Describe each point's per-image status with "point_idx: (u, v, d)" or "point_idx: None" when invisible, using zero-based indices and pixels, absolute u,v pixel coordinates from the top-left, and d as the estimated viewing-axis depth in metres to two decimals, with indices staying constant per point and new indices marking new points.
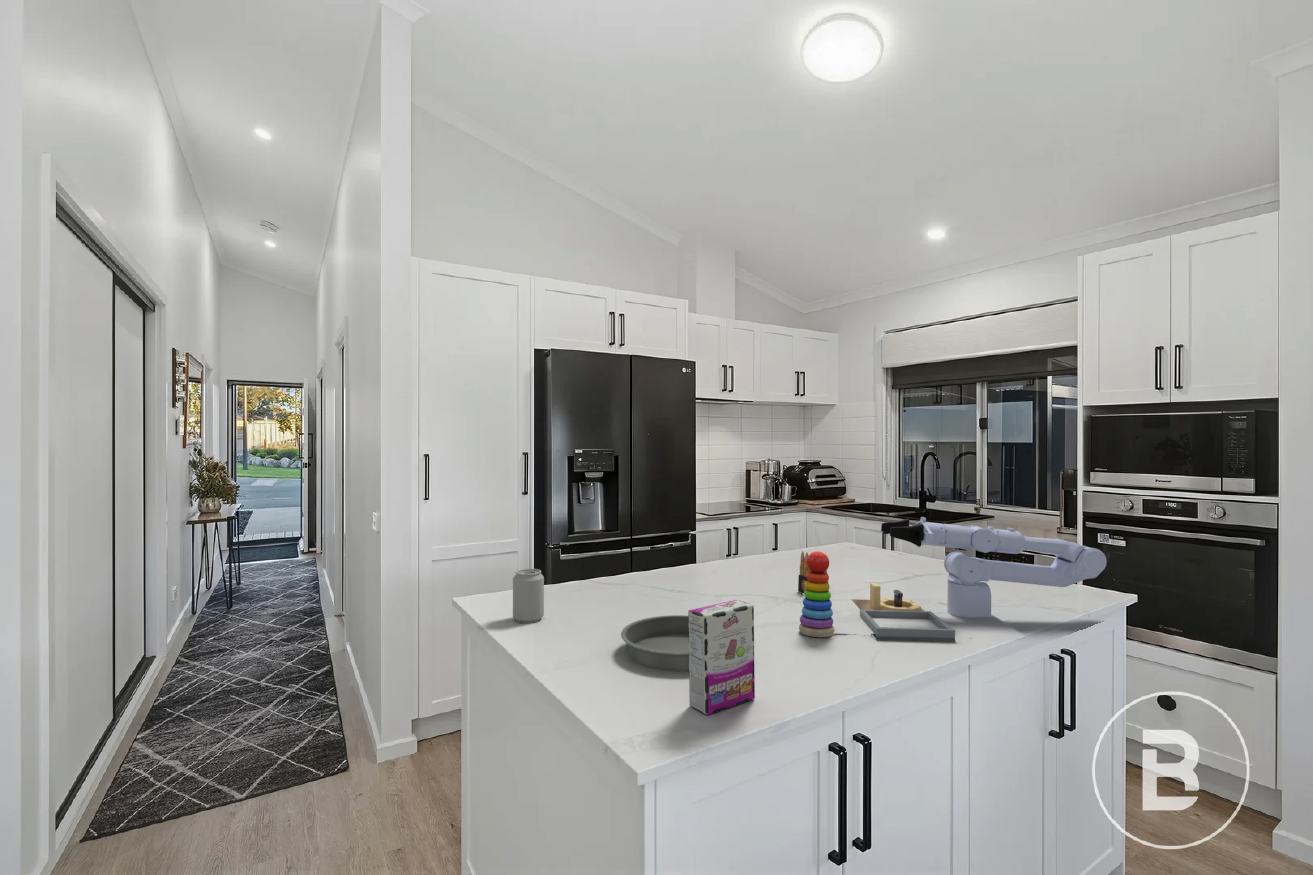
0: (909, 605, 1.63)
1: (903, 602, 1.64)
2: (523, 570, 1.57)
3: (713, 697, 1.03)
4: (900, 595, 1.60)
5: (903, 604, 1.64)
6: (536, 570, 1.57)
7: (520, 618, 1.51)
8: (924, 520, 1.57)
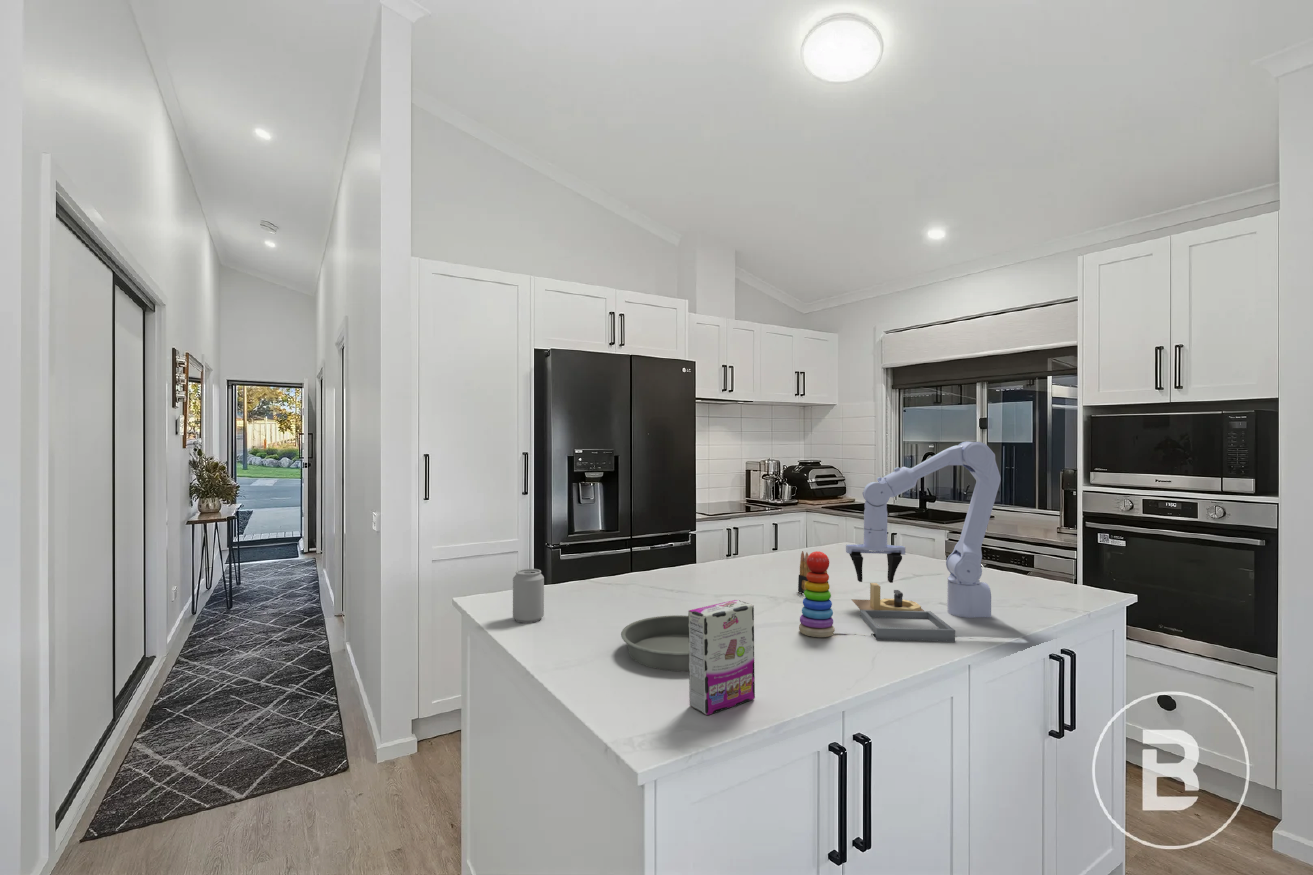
0: (909, 605, 1.63)
1: (903, 602, 1.64)
2: (523, 570, 1.57)
3: (713, 697, 1.03)
4: (900, 595, 1.60)
5: (903, 604, 1.64)
6: (536, 570, 1.57)
7: (520, 618, 1.51)
8: None
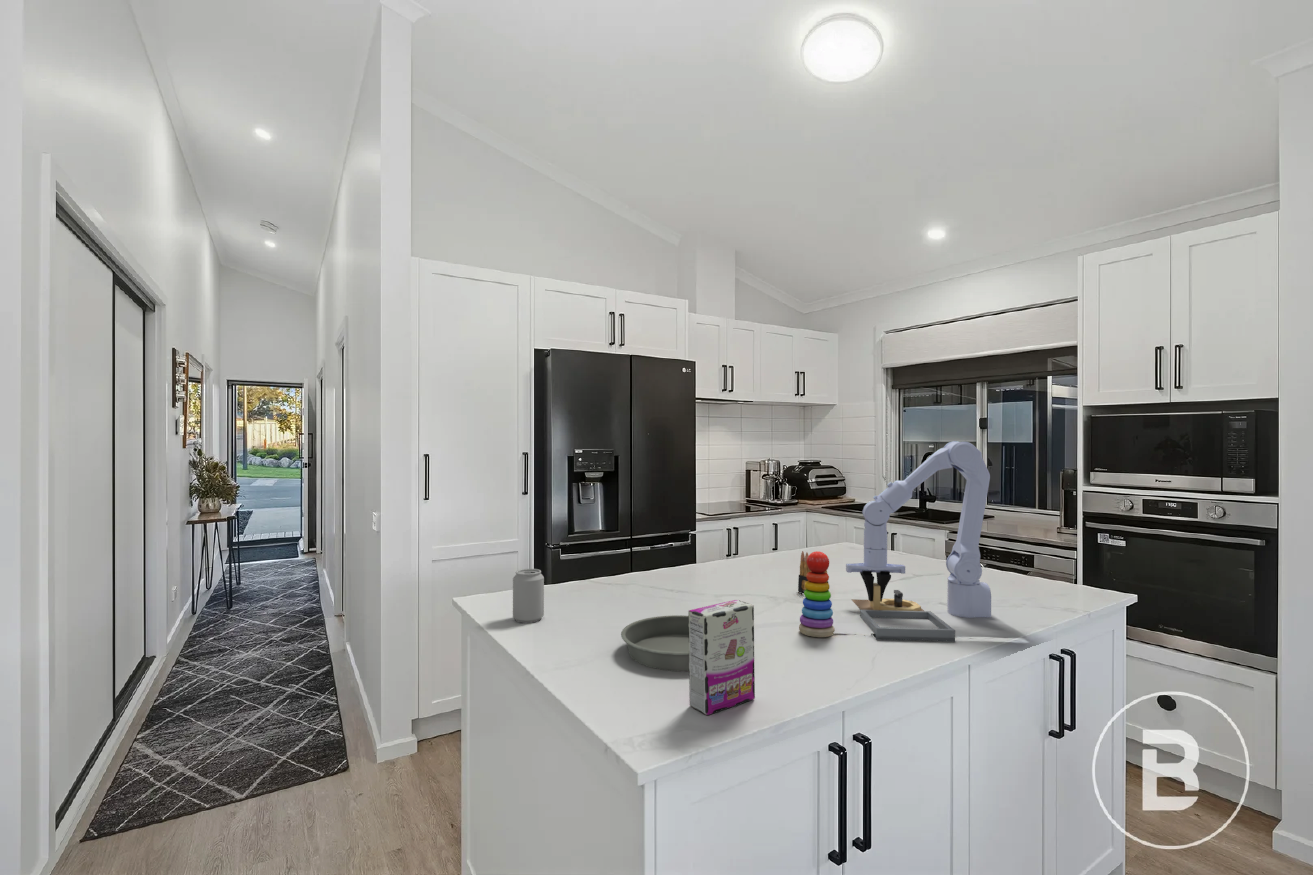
0: (909, 605, 1.63)
1: (903, 602, 1.64)
2: (523, 570, 1.57)
3: (713, 697, 1.03)
4: (900, 595, 1.60)
5: (903, 604, 1.64)
6: (536, 570, 1.57)
7: (520, 618, 1.51)
8: None
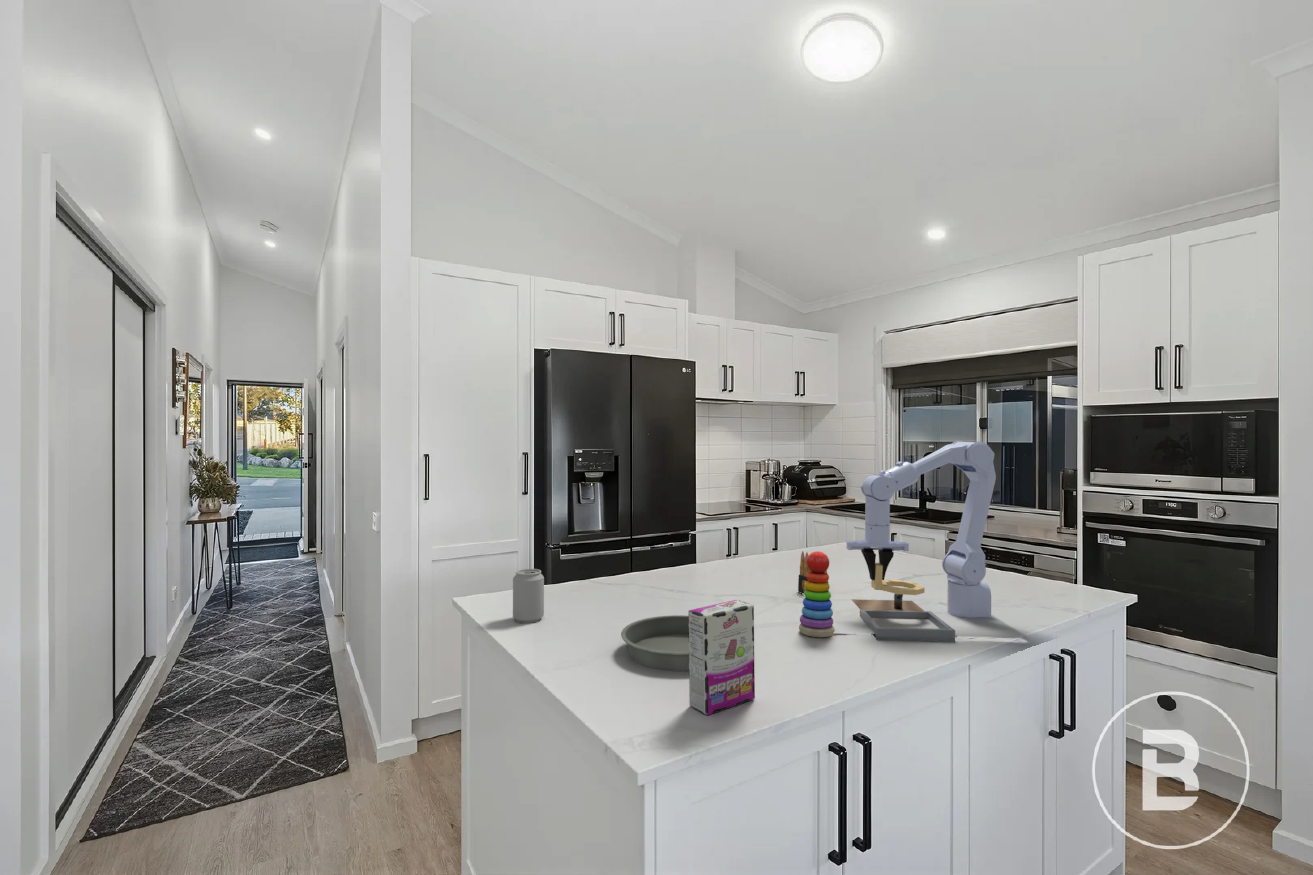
0: (912, 587, 1.56)
1: (906, 584, 1.58)
2: (523, 570, 1.57)
3: (713, 697, 1.03)
4: (900, 595, 1.60)
5: (906, 586, 1.58)
6: (536, 570, 1.57)
7: (520, 618, 1.51)
8: None
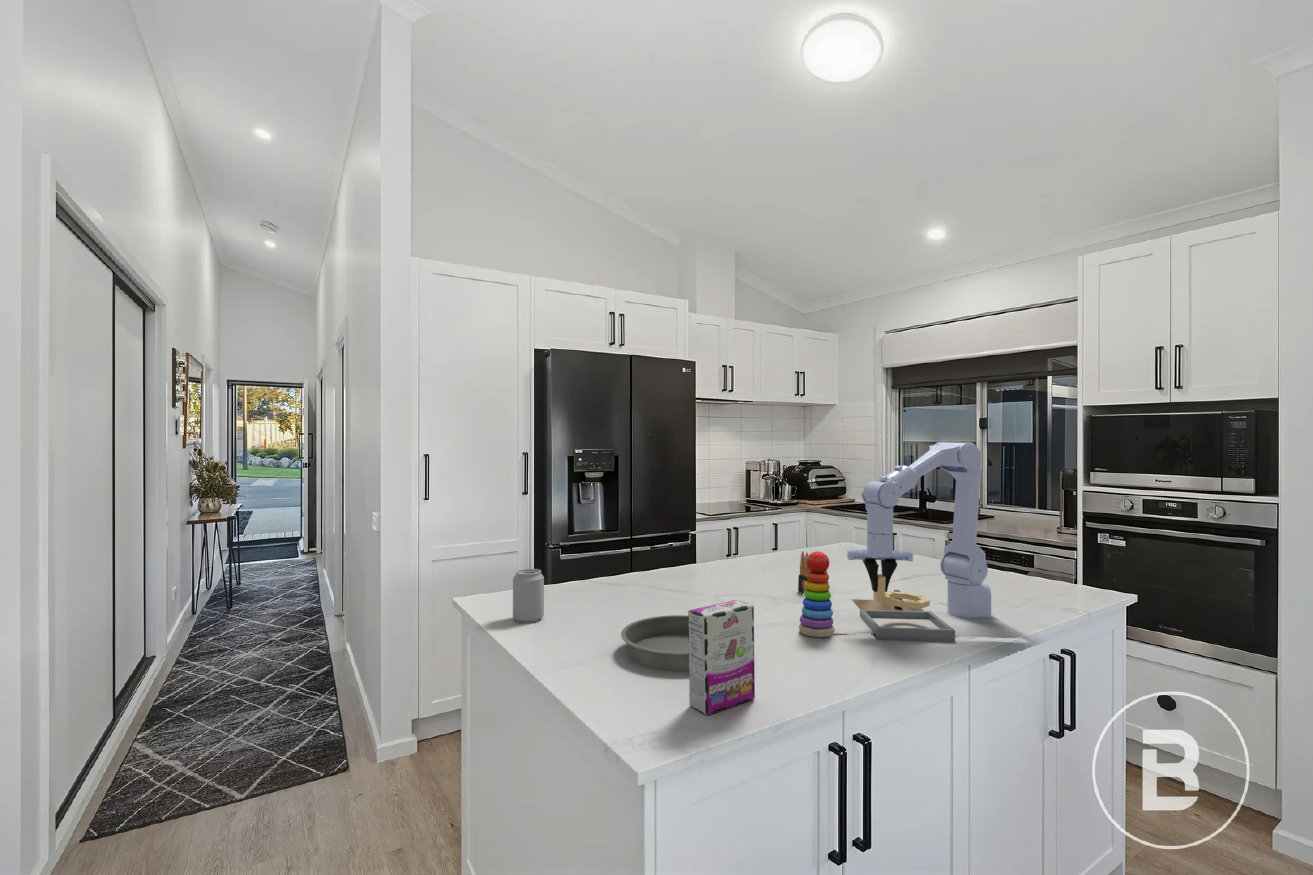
0: (916, 599, 1.48)
1: (910, 596, 1.50)
2: (523, 570, 1.57)
3: (713, 697, 1.03)
4: None
5: (910, 598, 1.50)
6: (536, 570, 1.57)
7: (520, 618, 1.51)
8: None
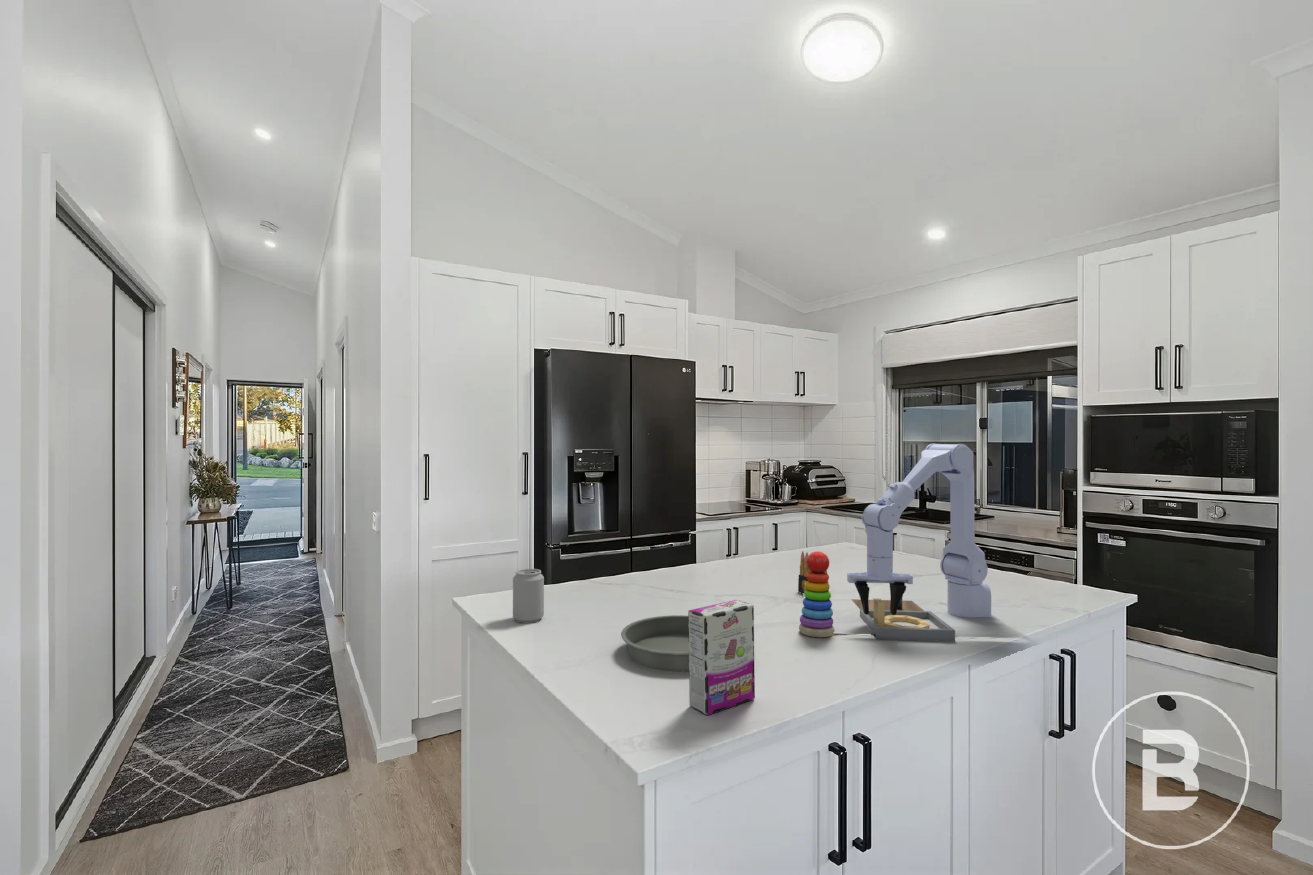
0: (916, 623, 1.48)
1: (910, 619, 1.50)
2: (523, 570, 1.57)
3: (713, 697, 1.03)
4: None
5: (910, 621, 1.50)
6: (536, 570, 1.57)
7: (520, 618, 1.51)
8: None
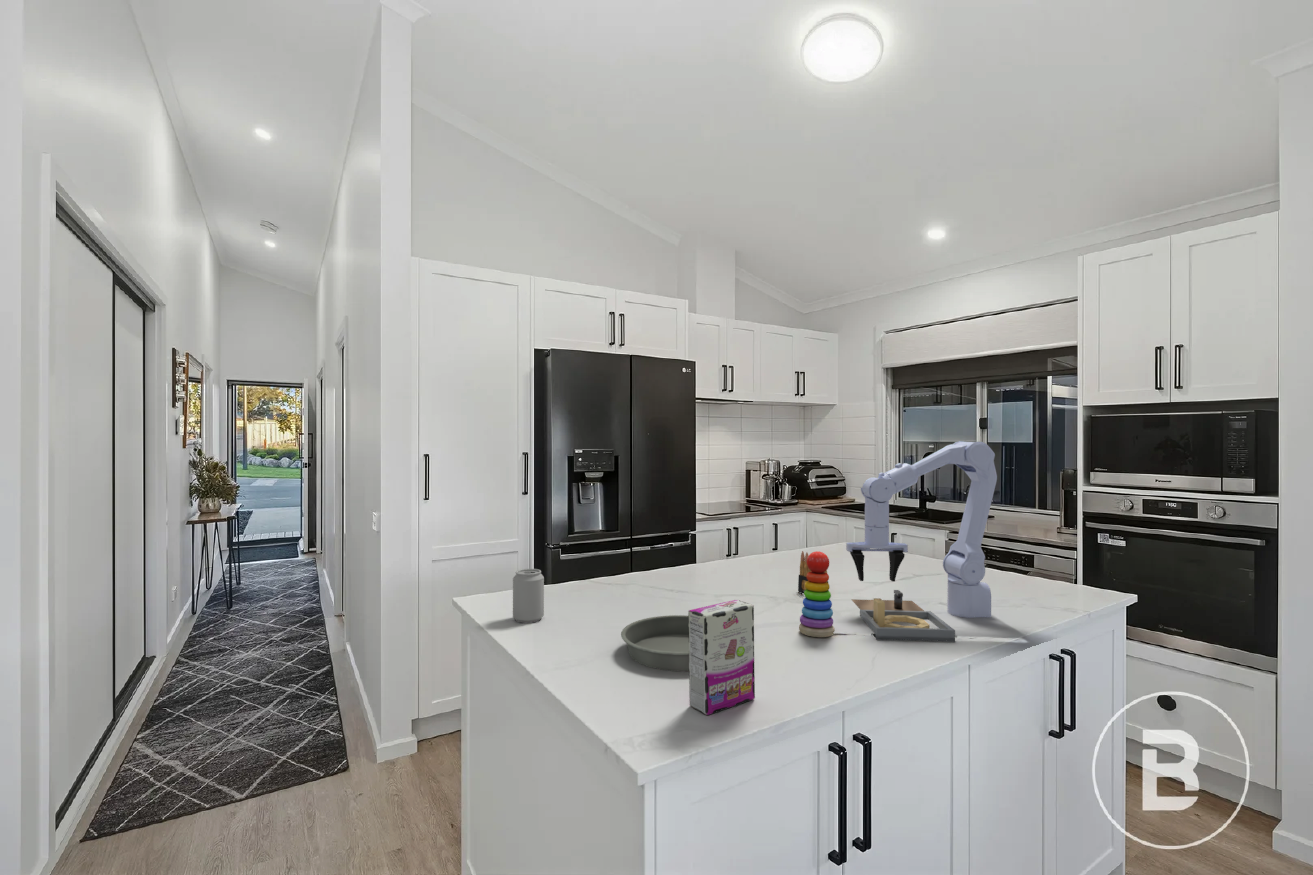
0: (916, 623, 1.48)
1: (910, 619, 1.50)
2: (523, 570, 1.57)
3: (713, 697, 1.03)
4: (900, 595, 1.60)
5: (910, 621, 1.50)
6: (536, 570, 1.57)
7: (520, 618, 1.51)
8: None
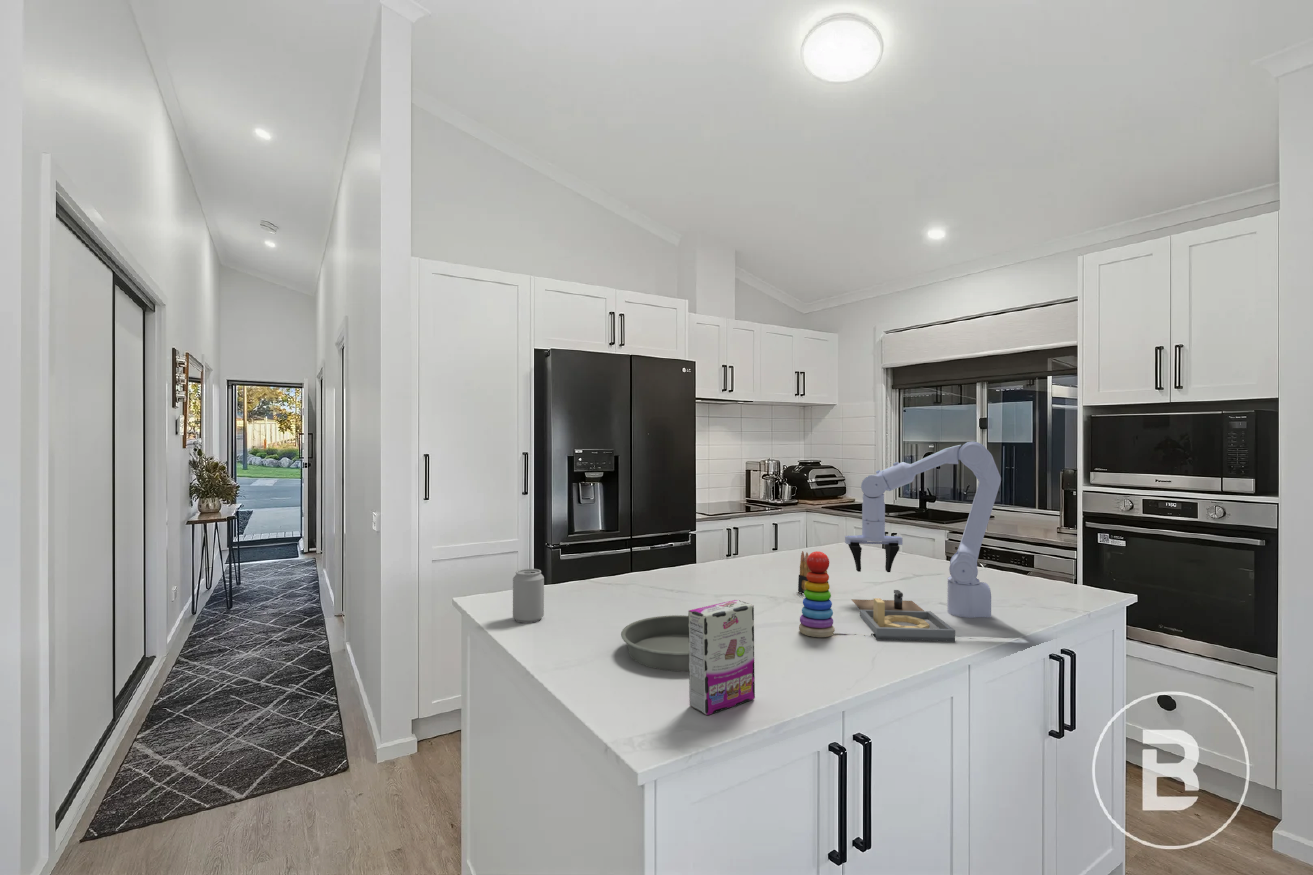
0: (916, 623, 1.48)
1: (910, 619, 1.50)
2: (523, 570, 1.57)
3: (713, 697, 1.03)
4: (900, 595, 1.60)
5: (910, 621, 1.50)
6: (536, 570, 1.57)
7: (520, 618, 1.51)
8: None
